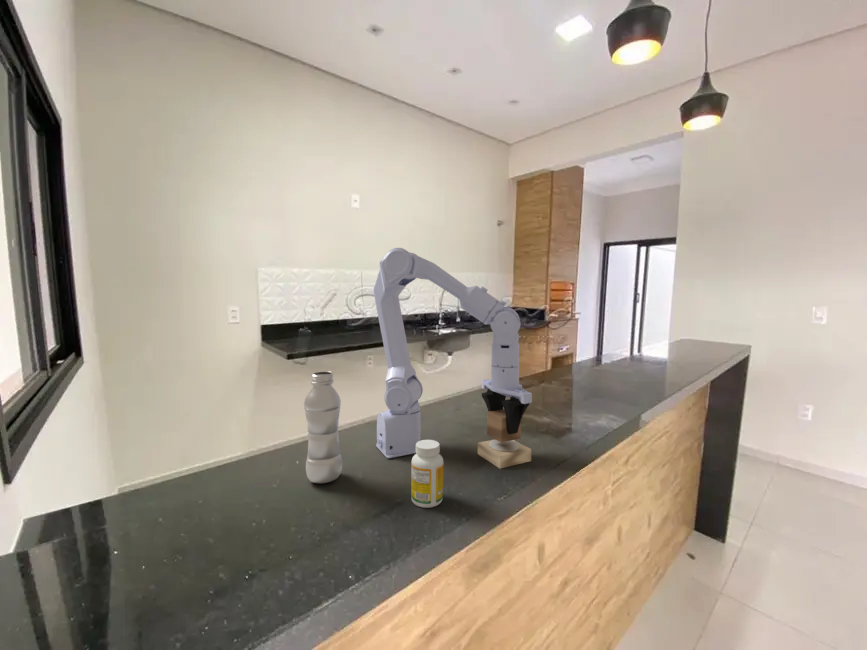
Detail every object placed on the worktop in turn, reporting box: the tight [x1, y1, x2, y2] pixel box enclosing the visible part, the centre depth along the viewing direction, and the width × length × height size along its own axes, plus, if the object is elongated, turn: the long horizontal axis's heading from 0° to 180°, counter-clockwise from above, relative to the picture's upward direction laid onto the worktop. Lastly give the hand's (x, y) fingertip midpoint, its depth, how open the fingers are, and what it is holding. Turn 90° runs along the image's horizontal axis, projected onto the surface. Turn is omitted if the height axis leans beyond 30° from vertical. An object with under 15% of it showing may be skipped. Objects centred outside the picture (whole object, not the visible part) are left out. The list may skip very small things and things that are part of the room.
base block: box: [477, 438, 532, 469], centre depth 80 cm, size 8×8×3 cm
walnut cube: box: [486, 408, 522, 442], centre depth 80 cm, size 5×5×5 cm
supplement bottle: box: [410, 439, 444, 509], centre depth 63 cm, size 5×5×10 cm
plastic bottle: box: [303, 370, 343, 484], centre depth 70 cm, size 6×7×20 cm
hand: (504, 429), depth 80 cm, fingers closed on walnut cube, 5 cm apart
